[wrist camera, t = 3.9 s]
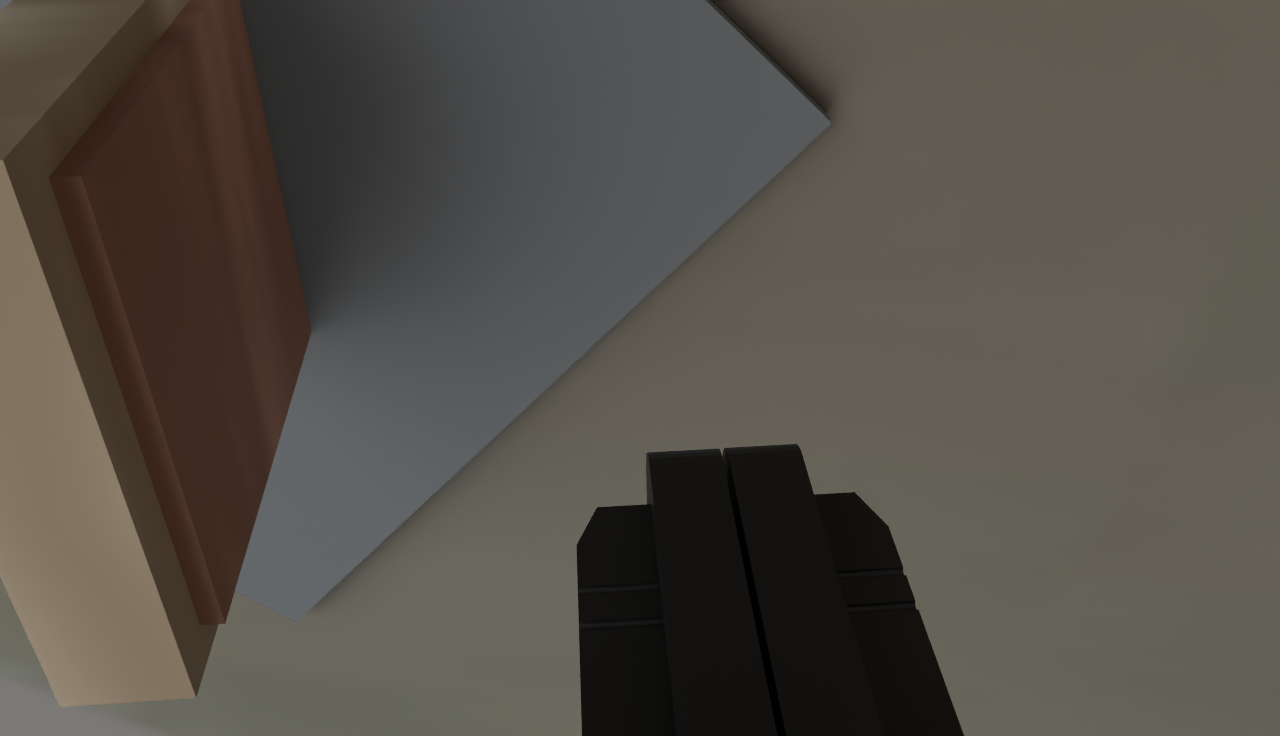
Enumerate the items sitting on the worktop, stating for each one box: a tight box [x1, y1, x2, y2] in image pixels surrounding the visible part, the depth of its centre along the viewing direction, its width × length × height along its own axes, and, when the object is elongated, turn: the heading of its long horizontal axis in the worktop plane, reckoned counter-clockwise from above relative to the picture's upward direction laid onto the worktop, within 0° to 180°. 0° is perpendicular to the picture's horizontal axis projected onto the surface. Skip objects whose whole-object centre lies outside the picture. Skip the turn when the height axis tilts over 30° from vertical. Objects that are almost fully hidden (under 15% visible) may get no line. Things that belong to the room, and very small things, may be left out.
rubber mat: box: [0, 0, 832, 622], centre depth 18 cm, size 20×15×1 cm
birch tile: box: [0, 0, 312, 707], centre depth 15 cm, size 2×7×8 cm, turn 2°
